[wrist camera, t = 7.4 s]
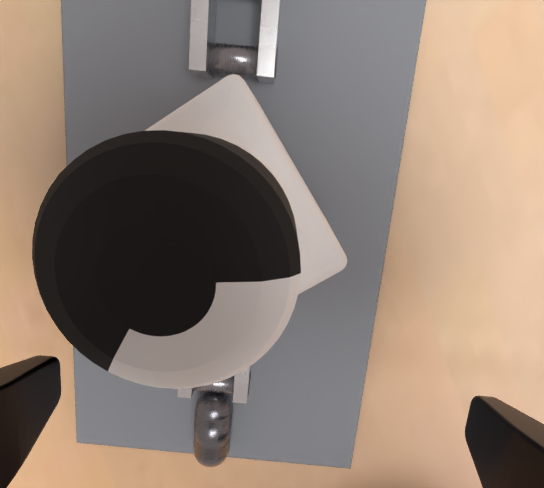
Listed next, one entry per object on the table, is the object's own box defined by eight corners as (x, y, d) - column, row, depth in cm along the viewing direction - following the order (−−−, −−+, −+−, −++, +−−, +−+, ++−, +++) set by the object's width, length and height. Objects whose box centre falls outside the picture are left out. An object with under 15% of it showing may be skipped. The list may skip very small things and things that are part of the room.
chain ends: (244, 451, 24) (241, 478, 22) (182, 445, 24) (173, 472, 22) (295, -153, 16) (297, -192, 14) (206, -161, 16) (196, -201, 15)
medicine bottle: (129, 174, 20) (-89, 222, 8) (253, 94, 19) (204, 17, 7) (209, 293, 21) (119, 477, 10) (329, 224, 20) (391, 337, 9)
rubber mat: (349, 461, 24) (350, 468, 24) (81, 436, 24) (76, 442, 24) (446, -146, 17) (451, -155, 16) (60, -179, 17) (54, -189, 16)
